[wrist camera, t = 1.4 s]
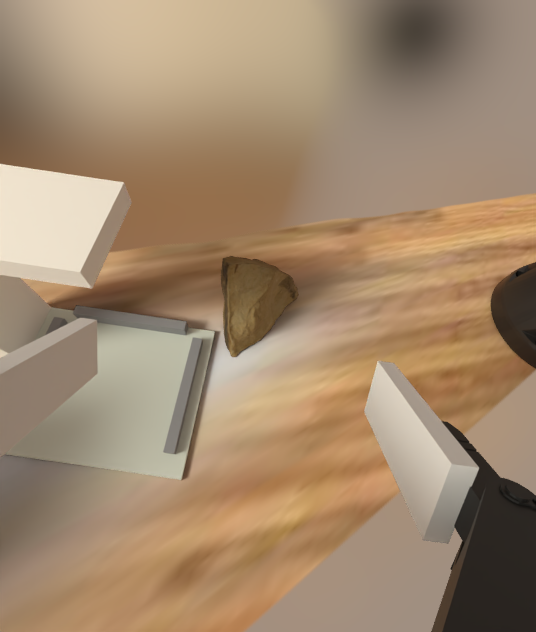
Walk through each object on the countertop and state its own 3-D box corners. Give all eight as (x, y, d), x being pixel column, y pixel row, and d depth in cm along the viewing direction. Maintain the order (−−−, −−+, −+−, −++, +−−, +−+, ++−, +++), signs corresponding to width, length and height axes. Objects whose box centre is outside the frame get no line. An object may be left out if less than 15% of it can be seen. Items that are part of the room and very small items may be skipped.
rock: (291, 253, 40) (210, 258, 37) (324, 250, 32) (224, 256, 29) (296, 338, 42) (219, 350, 39) (328, 355, 34) (234, 371, 31)
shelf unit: (215, 333, 37) (191, 192, 19) (182, 479, 30) (95, 473, 12) (31, 306, 37) (-165, 139, 19) (-46, 447, 30) (-470, 391, 12)
